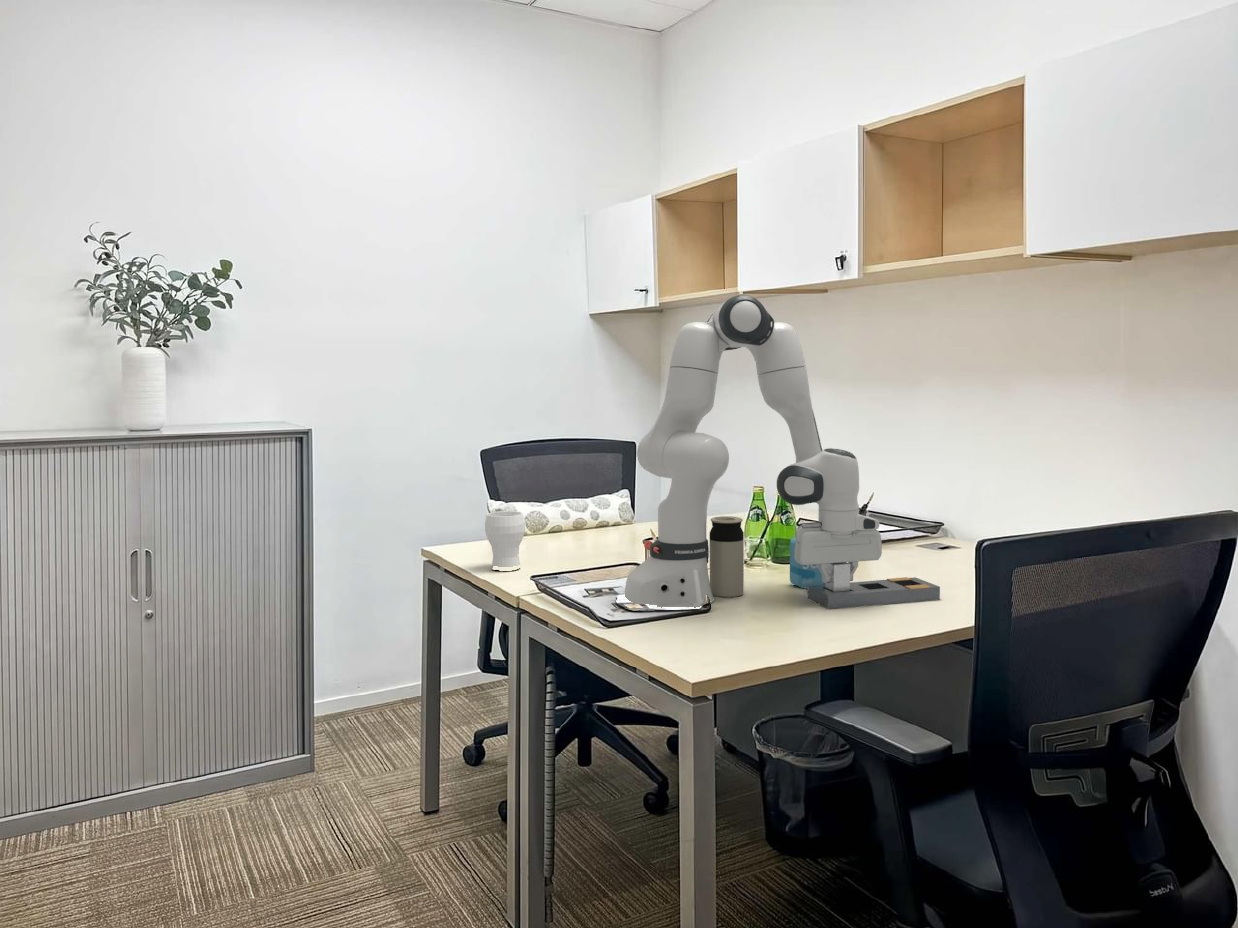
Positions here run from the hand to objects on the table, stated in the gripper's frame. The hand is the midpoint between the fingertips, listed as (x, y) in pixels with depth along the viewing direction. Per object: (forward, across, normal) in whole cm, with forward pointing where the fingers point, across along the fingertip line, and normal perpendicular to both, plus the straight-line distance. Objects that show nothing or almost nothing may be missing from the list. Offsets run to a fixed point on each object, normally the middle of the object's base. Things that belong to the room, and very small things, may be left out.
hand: (837, 581), depth 214 cm
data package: (+5, +3, +17) cm, 18 cm away
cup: (+5, -67, +59) cm, 89 cm away
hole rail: (+5, +9, 0) cm, 10 cm away
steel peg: (+5, 0, 0) cm, 5 cm away
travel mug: (+5, -21, +15) cm, 26 cm away
